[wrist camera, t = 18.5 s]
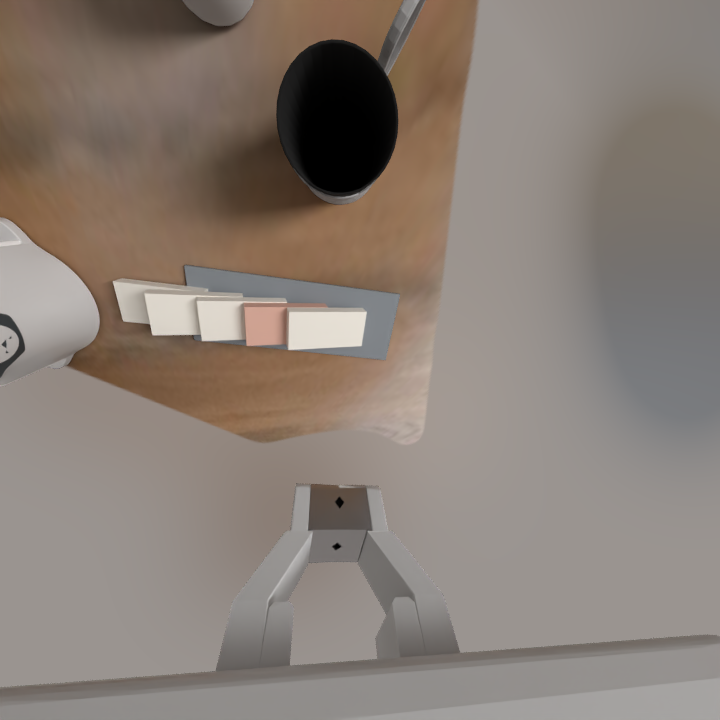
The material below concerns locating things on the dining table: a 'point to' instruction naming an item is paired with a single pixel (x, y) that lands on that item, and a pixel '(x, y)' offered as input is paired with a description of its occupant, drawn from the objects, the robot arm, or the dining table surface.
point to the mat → (297, 291)
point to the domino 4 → (269, 322)
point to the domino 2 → (177, 310)
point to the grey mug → (342, 112)
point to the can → (219, 10)
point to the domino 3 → (226, 316)
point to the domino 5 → (324, 327)
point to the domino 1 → (141, 297)
